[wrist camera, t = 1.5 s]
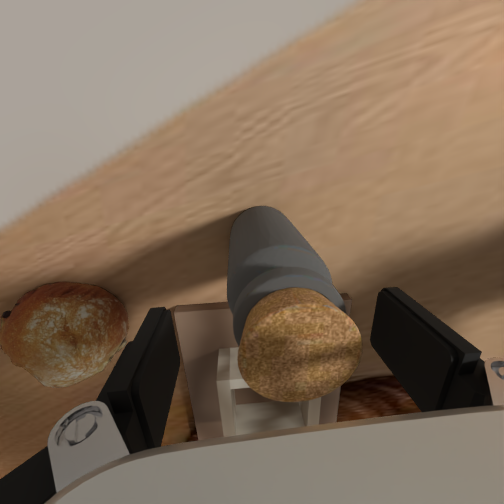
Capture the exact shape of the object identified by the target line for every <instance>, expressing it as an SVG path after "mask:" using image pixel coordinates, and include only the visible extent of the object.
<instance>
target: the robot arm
mask: <svg viewBox="0 0 504 504" xmlns="http://www.w3.org/2000/svg"><path fill="white" fill-rule="evenodd" d="M370 341H371V345H372V347H373V348H374V349H375V351H376V352H377V353H378V355H379V356H380V357H381V359H382V360H383V361H384V363H385V364H386V365H387V367H388V368H389V369H390V370H391V372H392V373H393V374H394V376H395V377H396V378H397V380H398V381H399V382H400V384H401V385H402V386H403V388H404V389H405V390H406V392H407V393H408V394H409V396H410V397H411V398H412V400H413V401H414V402H415V403H416V405H417V406H418V407H419V409H420V410H421V411H422V412H421V413H413V414H404V415H395V416H387V417H378V418H370V419H362V420H354V421H345V422H337V423H329V424H321V425H313V426H305V427H297V428H289V429H281V430H274V431H266V432H258V433H250V434H243V435H235V436H227V437H220V438H213V439H206V440H199V441H193V442H186V443H179V444H172V445H167V446H162V447H161V443H162V439H163V435H164V430H165V426H166V422H167V418H168V413H169V409H170V405H171V401H172V396H173V392H174V388H175V384H176V379H177V375H178V371H179V367H180V356H179V351H178V346H177V341H176V336H175V331H174V326H173V321H172V316H171V312H170V310H166V308H165V307H158V308H150V310H149V312H148V314H147V316H146V317H145V319H144V321H143V323H142V325H141V327H140V329H139V331H138V333H137V335H136V337H135V339H134V340H133V341H131V342H129V343H128V344H127V345H126V347H125V348H124V350H123V352H122V354H121V356H120V358H119V359H118V361H117V363H116V365H115V367H114V369H113V370H112V372H111V374H110V376H109V378H108V380H107V381H106V383H105V385H104V387H103V389H102V391H101V392H100V394H99V396H98V398H97V400H96V401H90V402H87V403H83V404H81V405H79V406H77V407H75V408H73V409H72V410H71V411H69V412H68V413H66V414H65V415H64V416H63V417H62V418H61V419H60V420H59V421H58V422H57V423H56V425H55V426H54V427H53V429H52V430H51V432H50V435H49V437H48V446H47V447H45V448H44V449H43V450H41V451H40V452H38V453H37V454H35V455H34V456H33V457H31V458H30V459H28V460H27V461H26V462H24V463H23V464H21V465H20V466H18V467H17V468H16V469H14V470H13V471H11V472H10V473H9V474H7V475H6V476H4V477H3V478H1V479H0V504H504V358H496V357H493V358H488V359H487V360H486V361H485V362H484V361H483V360H482V359H480V355H481V353H482V352H481V351H480V350H478V349H477V348H476V347H475V346H473V345H472V344H471V343H469V342H468V341H467V340H465V339H464V338H463V337H462V336H460V335H459V334H458V333H456V332H455V331H454V330H452V329H451V328H450V327H449V326H447V325H446V324H445V323H443V322H442V321H441V320H439V319H438V318H437V317H436V316H434V315H433V314H432V313H430V312H429V311H428V310H426V309H425V308H424V307H423V306H421V305H420V304H419V303H417V302H416V301H415V300H413V299H412V298H411V297H410V296H408V295H407V294H406V293H404V292H403V291H402V290H400V289H399V288H397V287H391V288H383V289H382V290H381V292H379V293H378V297H377V302H376V308H375V314H374V320H373V326H372V331H371V337H370Z"/></svg>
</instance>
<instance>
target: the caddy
mask: <svg viewBox="0 0 504 504" xmlns="http://www.w3.org/2000/svg"><path fill="white" fill-rule="evenodd" d="M340 295H341V297H342V299H343V301H344V304H345V307H346V314H347V316H349V317H350V311H351V303H352V299H351V298H350V297H349V295H348V294H347V293H346V294H340ZM174 316H175V321H176V326H177V331H178V337H179V342H180V347H181V352H182V357H183V362H184V368H185V373H186V378H187V383H188V388H189V393H190V399H191V404H192V409H193V414H194V419H195V424H196V430H197V435H198V440H206V439H213V438H220V437H227V436H235V435H243V434H250V433H258V432H266V431H274V430H281V429H289V428H297V427H305V426H313V425H321V424H329V423H336V420H337V412H338V404H339V396H340V389H341V386H340V387H338V388H337V389H335V390H334V391H332V392H330V393H329V394H326V395H324V396H322V397H319V398H316V399H313V400H309V401H302V402H281V401H276V400H271V399H269V398H266V397H264V396H262V395H260V394H258V393H257V392H255V391H254V390H253V389H251V388H250V387H249V386H248V385H247V383H246V382H245V381H244V379H243V378H242V376H241V373H240V371H239V368H238V360H237V357H238V349H239V346H238V344H237V342H236V340H235V336H234V332H233V314H232V313H231V310H230V308H229V304H228V302H222V303H208V304H194V305H180V306H176V309H175V311H174Z"/></svg>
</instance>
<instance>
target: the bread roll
mask: <svg viewBox="0 0 504 504" xmlns="http://www.w3.org/2000/svg"><path fill="white" fill-rule="evenodd" d="M128 329H129V324H128V314H127V312H126V310H125V308H124V306H123V305H122V303H121V302H120V301H119V300H118V299H117V298H116V297H115V296H113V295H112V294H111V293H109V292H108V291H106V290H104V289H102V288H100V287H98V286H95V285H89V284H81V283H70V282H57V283H54V284H46V285H43V286H41V287H39V288H37V289H35V290H33V291H30V292H27V293H26V294H24V295H23V296H22V297H21V298H20V299H19V300H18V302H17V303H16V304H15V306H14V308H13V310H12V311H6V312H4V313H3V315H2V316H1V330H0V345H1V349H2V350H3V351H4V353H5V354H7V355H8V356H9V357H10V358H11V362H12V363H13V364H14V365H16V366H19V367H23V368H24V369H25V370H27V371H28V372H29V373H30V374H32V375H33V376H34V377H35V378H36V379H37V380H38V381H39V382H40V383H41V384H43V385H44V386H49V387H67V386H70V385H73V384H76V383H78V382H81V381H82V380H85V379H87V378H89V377H91V376H93V375H95V374H97V373H98V372H101V371H103V369H104V367H105V366H106V364H107V363H108V362H110V361H111V359H112V357H113V356H114V354H115V353H116V351H119V350H120V349H121V348H123V347H124V346H125V345H126V343H127V341H126V340H125V338H126V335H127V332H128Z"/></svg>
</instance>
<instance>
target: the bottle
mask: <svg viewBox="0 0 504 504" xmlns="http://www.w3.org/2000/svg"><path fill="white" fill-rule="evenodd" d="M227 300H228V304H229V308H230V310H231V313H232V314H233V332H234V336H235V340H236V342H237V344H238V346H239V349H238V357H237V360H238V368H239V371H240V373H241V376H242V378H243V379H244V381H245V382H246V383H247V385H248V386H249V387H250V388H251V389H253V390H254V391H255V392H257V393H258V394H260V395H262V396H264V397H266V398H269V399H271V400H276V401H281V402H302V401H309V400H313V399H316V398H319V397H322V396H324V395H326V394H329V393H330V392H332V391H334V390H335V389H337V388H338V387H340V386H341V385H342V384H343V383H344V382H346V381H347V380H348V379H349V378H350V377H351V375H352V374H353V373H354V371H355V370H356V368H357V366H358V364H359V362H360V358H361V355H362V346H363V345H362V338H361V335H360V332H359V329H358V328H357V326H356V325H355V323H354V322H353V320H352V319H351V318H350V317H349V316H347V314H346V307H345V304H344V301H343V299H342V297H341V295H340V294H339V293H338V291H337V290H336V288H335V287H334V286H333V285H332V279H331V275H330V272H329V270H328V268H327V267H326V265H325V263H324V262H323V260H322V259H321V258H320V257H319V255H318V254H317V253H316V252H315V250H314V249H313V248H312V247H311V246H310V244H309V243H308V242H307V241H306V240H305V238H304V237H303V236H302V235H301V234H300V232H299V231H298V230H297V229H296V228H295V227H294V225H293V224H292V223H291V222H290V221H289V220H288V219H287V218H286V217H285V216H284V214H282V213H281V212H280V211H278V210H276V209H274V208H272V207H268V206H256V207H253V208H249V209H247V210H246V211H244V212H243V213H241V214H240V215H239V216H238V218H237V219H236V220H235V222H234V224H233V226H232V229H231V234H230V244H229V260H228V276H227Z"/></svg>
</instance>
